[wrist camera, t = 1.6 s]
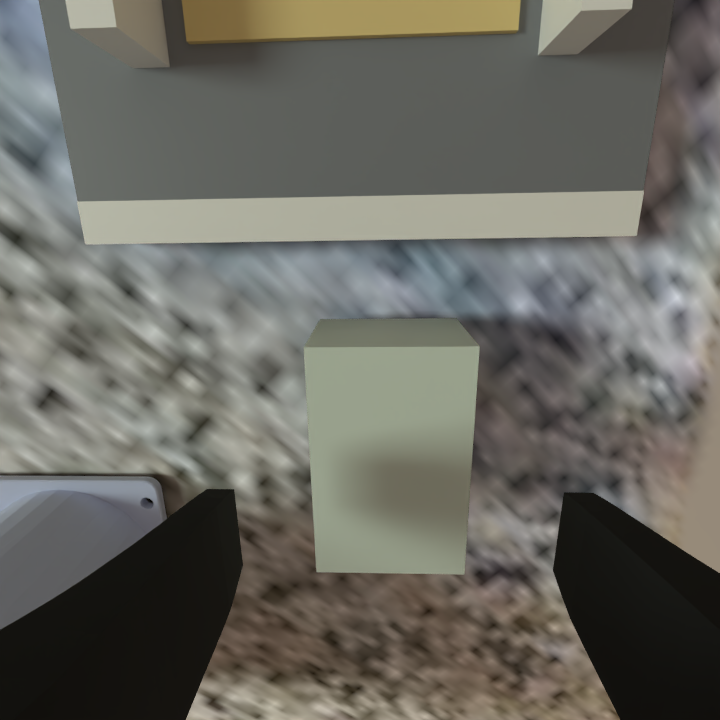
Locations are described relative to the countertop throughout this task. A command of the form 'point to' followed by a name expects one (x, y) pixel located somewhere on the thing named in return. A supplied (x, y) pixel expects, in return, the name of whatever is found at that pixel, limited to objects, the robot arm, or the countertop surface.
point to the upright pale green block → (391, 443)
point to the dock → (356, 117)
